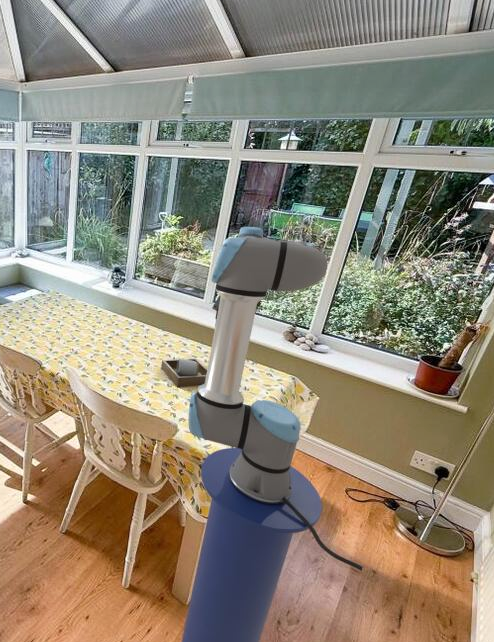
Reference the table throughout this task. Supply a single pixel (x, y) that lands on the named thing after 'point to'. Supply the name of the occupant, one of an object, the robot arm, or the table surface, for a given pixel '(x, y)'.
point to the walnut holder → (184, 380)
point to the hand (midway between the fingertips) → (232, 326)
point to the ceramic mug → (186, 368)
